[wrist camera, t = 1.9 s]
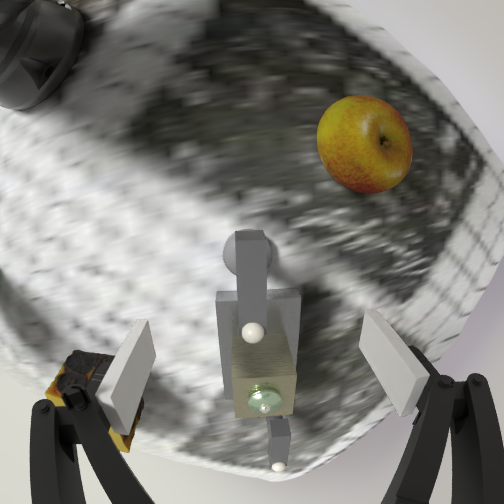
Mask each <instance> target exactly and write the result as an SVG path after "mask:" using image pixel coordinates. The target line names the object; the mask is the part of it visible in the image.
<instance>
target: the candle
mask: <svg viewBox="0 0 504 504" xmlns="http://www.w3.org/2000/svg"><path fill="white" fill-rule="evenodd" d="M114 358H115V356H111V355H106V354H99V353H89V352H83V351H80V350H74V351H73V353H72V354H71V355H70V356H68V357H67V359H66V361H65V363H64V364H63V366H62V368H61V370H60V371H59V373H58V374H57V376H56V377H55V380H54V381H53V382H52V383H51V385H50V387H49V388H48V389H47V391H46V392H45V395H46V397H47V399H49V400H51V401H52V402H53V403H54V405H55V406H66V405H65V404H64V402H63V400H62V398H61V393H62V391H63V389H64V388H65V387H67V386H69V385H72V384H80V385H82V386H84V387H85V388H86V387H87V386H88V384H89V382H90V380H92V379H91V378H92V377H93V375H94V373H95V371H96V370H97V368H98V367H99V366H100V365H101V364H102V363H104V362H112V361H113V360H114ZM143 408H144V402H143V398H142V397H141V400H140V403H139V406H138V409H137V412H136V415H135V418H134V421H133V424H132V427H131V430H130V433H129V435H123V434H117V433H114V431H113V429H112V427H110V430H109V434H110V436H111V437H112V439H113V441H114V443H115V444H116V446H117V448H118V450H119V451H122V452H126V453H129V451H130V446H131V442H132V439H133V437H134V435H135V429H136V426H137V424H138V421H139V420H140V416H141V412H142V409H143Z"/></svg>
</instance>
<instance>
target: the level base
mask: <svg viewBox="0 0 504 504" xmlns="http://www.w3.org/2000/svg"><path fill="white" fill-rule="evenodd" d="M215 302H216V314H217V325H218V336H219V346H220V356H221V365H222V374H223V383H224V392H225V399H234V408H235V418H248V417H266V416H279V415H290V414H293V407H294V399H295V390H296V380H297V373H296V363H297V351H298V339H299V326H300V311H301V296H300V294H299V291H298V289H297V288H290V289H270V290H267V326H266V335H264V336H263V338H262V340H261V341H259V342H257V343H248V342H246V341H245V340H244V339H243V337H242V336H239V320H238V299H237V291H217V294H216V301H215Z"/></svg>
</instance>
